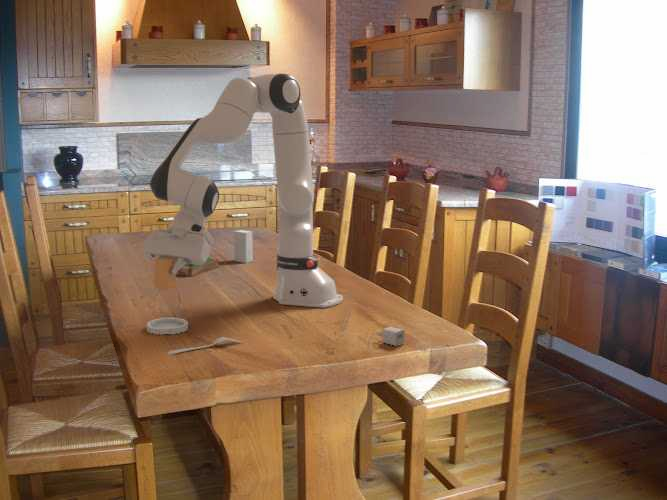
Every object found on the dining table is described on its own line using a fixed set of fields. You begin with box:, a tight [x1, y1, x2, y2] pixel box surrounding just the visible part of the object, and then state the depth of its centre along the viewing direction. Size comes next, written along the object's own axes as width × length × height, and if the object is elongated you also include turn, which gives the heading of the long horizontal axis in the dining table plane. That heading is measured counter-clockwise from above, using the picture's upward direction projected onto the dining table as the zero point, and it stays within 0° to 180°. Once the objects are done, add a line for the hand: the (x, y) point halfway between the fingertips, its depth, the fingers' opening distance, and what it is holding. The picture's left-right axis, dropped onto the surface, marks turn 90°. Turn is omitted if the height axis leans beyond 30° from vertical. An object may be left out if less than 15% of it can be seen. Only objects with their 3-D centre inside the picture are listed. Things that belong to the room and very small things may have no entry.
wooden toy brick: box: [153, 258, 177, 291], centre depth 212 cm, size 4×4×8 cm
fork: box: [167, 336, 242, 355], centre depth 200 cm, size 3×21×3 cm, turn 120°
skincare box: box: [233, 229, 254, 264], centre depth 302 cm, size 6×4×12 cm
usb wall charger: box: [376, 326, 406, 347], centre depth 206 cm, size 4×7×4 cm, turn 48°
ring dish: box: [146, 317, 189, 336], centre depth 215 cm, size 11×11×2 cm
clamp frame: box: [176, 257, 219, 277], centre depth 287 cm, size 10×18×3 cm, turn 155°
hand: (163, 272), depth 212 cm, fingers closed on wooden toy brick, 4 cm apart
